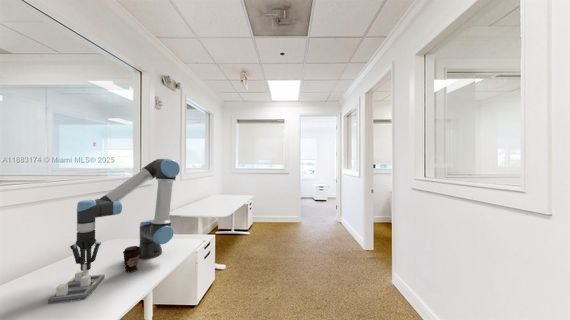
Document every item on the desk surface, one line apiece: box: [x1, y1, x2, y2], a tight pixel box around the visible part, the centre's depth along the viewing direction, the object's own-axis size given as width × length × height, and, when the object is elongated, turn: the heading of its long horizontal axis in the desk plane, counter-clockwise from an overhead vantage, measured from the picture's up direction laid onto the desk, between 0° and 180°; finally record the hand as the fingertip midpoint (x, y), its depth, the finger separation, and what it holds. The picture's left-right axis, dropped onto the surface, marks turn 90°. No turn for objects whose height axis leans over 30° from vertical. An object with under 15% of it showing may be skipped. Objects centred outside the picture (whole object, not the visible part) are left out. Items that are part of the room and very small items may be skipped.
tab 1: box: [55, 283, 68, 296], centre depth 113 cm, size 3×3×4 cm
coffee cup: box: [122, 245, 140, 274], centre depth 142 cm, size 9×8×13 cm
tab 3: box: [81, 274, 92, 287], centre depth 122 cm, size 3×3×4 cm
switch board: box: [47, 273, 106, 304], centre depth 121 cm, size 14×21×2 cm, turn 16°
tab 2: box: [74, 270, 83, 282], centre depth 127 cm, size 3×3×4 cm
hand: (85, 276), depth 128 cm, fingers closed
